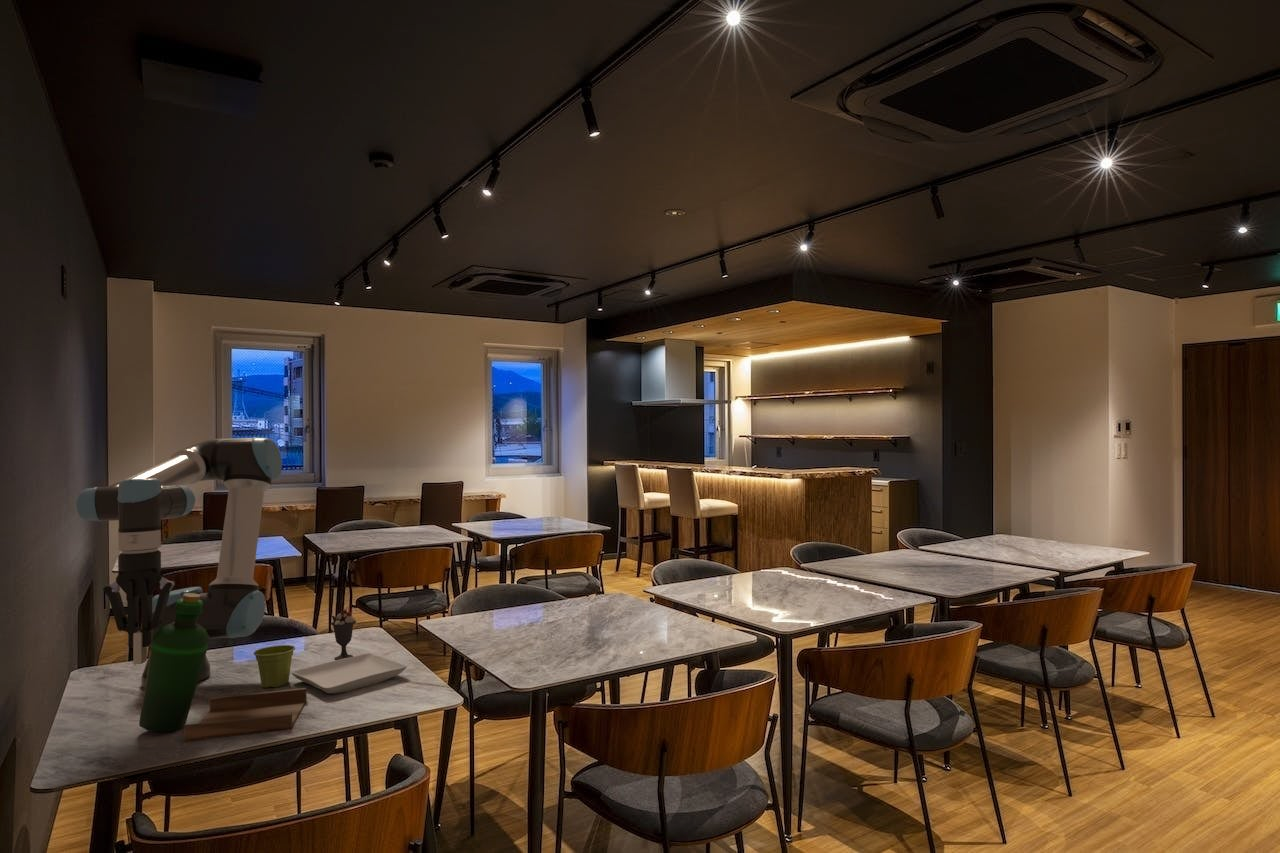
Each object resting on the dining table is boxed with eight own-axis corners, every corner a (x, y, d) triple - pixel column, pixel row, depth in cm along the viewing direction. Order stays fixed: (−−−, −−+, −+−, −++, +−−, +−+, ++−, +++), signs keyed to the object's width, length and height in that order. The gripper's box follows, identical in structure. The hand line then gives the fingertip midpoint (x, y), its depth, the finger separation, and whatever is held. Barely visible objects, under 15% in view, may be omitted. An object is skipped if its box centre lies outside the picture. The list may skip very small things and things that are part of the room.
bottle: (180, 712, 162) (209, 588, 164) (198, 730, 155) (227, 601, 157) (125, 719, 154) (155, 588, 155) (141, 739, 147) (172, 602, 149)
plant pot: (247, 686, 182) (246, 651, 182) (284, 676, 190) (284, 642, 190) (265, 693, 176) (264, 657, 177) (302, 682, 184) (302, 648, 184)
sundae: (361, 656, 206) (360, 603, 207) (340, 662, 200) (340, 608, 201) (347, 653, 210) (346, 601, 210) (326, 659, 204) (325, 605, 204)
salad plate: (290, 683, 184) (289, 670, 184) (369, 663, 200) (369, 651, 200) (326, 702, 170) (326, 687, 170) (409, 679, 185) (408, 665, 186)
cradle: (211, 711, 165) (211, 697, 165) (306, 700, 170) (306, 687, 170) (184, 741, 148) (184, 726, 148) (291, 729, 153) (291, 714, 153)
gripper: (96, 555, 149) (96, 670, 148) (167, 551, 152) (168, 664, 152) (112, 550, 156) (112, 660, 156) (180, 547, 160) (181, 655, 159)
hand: (140, 662), depth 154 cm, fingers closed
